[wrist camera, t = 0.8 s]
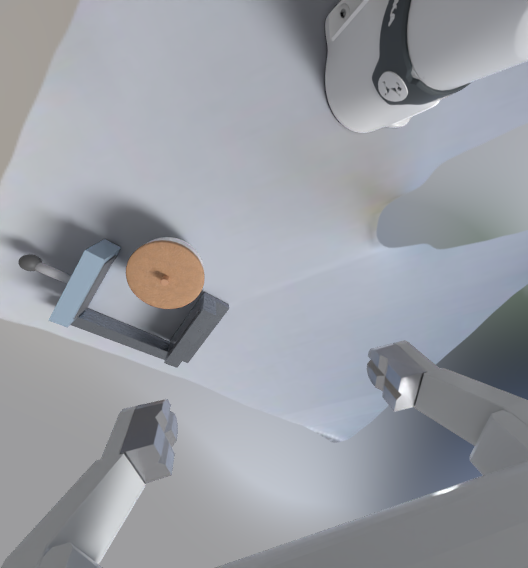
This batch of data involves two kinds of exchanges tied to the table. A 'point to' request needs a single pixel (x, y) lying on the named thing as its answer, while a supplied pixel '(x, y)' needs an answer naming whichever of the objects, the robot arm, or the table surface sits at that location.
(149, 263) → the lidded jar
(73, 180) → the table surface
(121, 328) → the vise body
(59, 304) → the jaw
